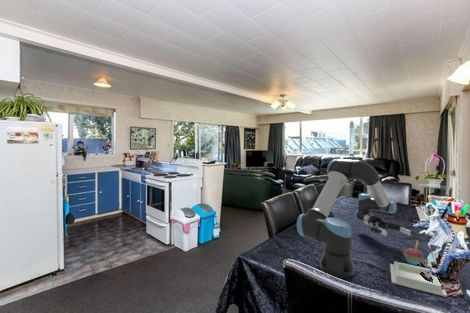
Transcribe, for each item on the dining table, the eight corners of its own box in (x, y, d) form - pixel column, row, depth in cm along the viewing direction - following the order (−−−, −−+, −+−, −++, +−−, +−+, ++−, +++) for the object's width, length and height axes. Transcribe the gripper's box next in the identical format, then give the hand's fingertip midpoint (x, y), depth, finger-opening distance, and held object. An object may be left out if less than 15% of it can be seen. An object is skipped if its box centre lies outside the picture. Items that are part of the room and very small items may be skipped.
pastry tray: (391, 282, 101) (392, 275, 101) (390, 265, 116) (390, 259, 116) (447, 297, 91) (447, 289, 91) (437, 275, 107) (437, 269, 106)
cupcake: (414, 259, 123) (415, 236, 122) (428, 267, 114) (429, 243, 114) (398, 259, 123) (399, 236, 122) (411, 267, 114) (412, 243, 114)
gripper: (391, 226, 151) (419, 239, 130) (354, 227, 150) (376, 240, 128) (391, 215, 151) (419, 226, 130) (354, 215, 149) (376, 227, 128)
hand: (398, 233), depth 129 cm, fingers open, 13 cm apart
